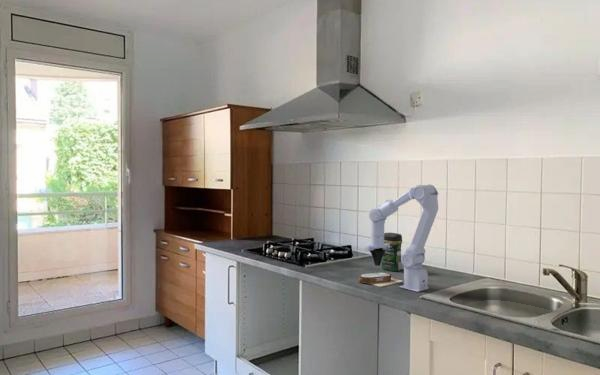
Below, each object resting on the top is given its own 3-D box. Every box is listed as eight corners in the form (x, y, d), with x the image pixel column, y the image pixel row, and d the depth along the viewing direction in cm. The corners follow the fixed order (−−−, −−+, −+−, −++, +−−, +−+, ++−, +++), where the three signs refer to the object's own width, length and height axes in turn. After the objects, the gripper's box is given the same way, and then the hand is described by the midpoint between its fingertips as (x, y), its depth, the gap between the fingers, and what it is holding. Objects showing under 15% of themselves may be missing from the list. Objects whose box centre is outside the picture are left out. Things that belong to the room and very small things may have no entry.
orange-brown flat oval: (355, 279, 196) (364, 285, 188) (355, 272, 196) (364, 278, 188) (385, 277, 201) (394, 282, 193) (385, 270, 200) (395, 275, 193)
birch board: (403, 281, 194) (403, 280, 194) (381, 287, 185) (381, 286, 185) (386, 277, 202) (386, 276, 202) (364, 282, 192) (364, 281, 192)
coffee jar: (379, 269, 219) (379, 232, 219) (388, 266, 225) (388, 231, 224) (395, 272, 212) (395, 234, 212) (404, 270, 218) (404, 233, 217)
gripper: (381, 233, 203) (381, 261, 204) (360, 235, 194) (359, 265, 194) (393, 234, 198) (393, 264, 198) (372, 237, 188) (371, 268, 189)
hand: (377, 265), depth 196 cm, fingers closed
